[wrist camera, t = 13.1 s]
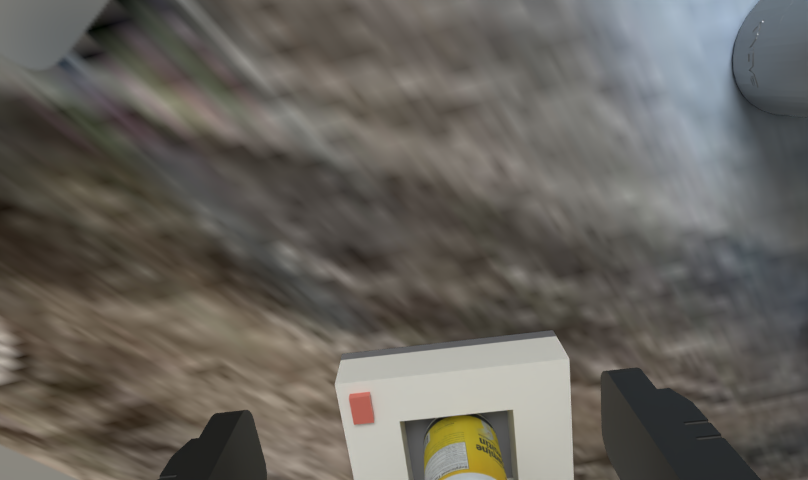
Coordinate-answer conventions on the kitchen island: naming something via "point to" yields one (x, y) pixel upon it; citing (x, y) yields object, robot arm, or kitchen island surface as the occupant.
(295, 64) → the kitchen island surface
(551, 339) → the socket block
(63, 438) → the kitchen island surface
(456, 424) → the pill bottle
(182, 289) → the kitchen island surface
